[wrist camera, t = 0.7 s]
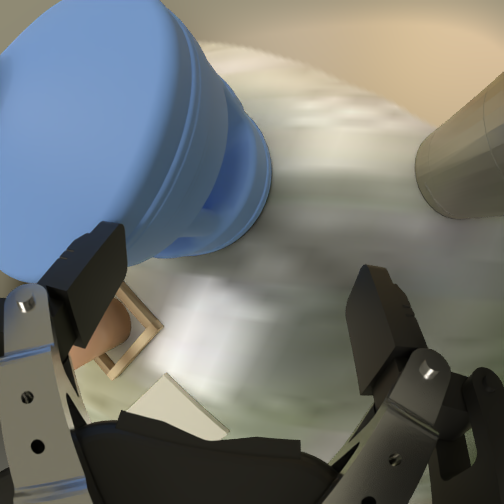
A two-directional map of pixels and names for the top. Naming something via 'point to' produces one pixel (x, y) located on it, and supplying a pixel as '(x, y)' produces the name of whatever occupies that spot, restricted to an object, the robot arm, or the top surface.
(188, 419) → the mat
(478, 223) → the top surface
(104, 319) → the pillar candle
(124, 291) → the wooden frame
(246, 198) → the water jug
